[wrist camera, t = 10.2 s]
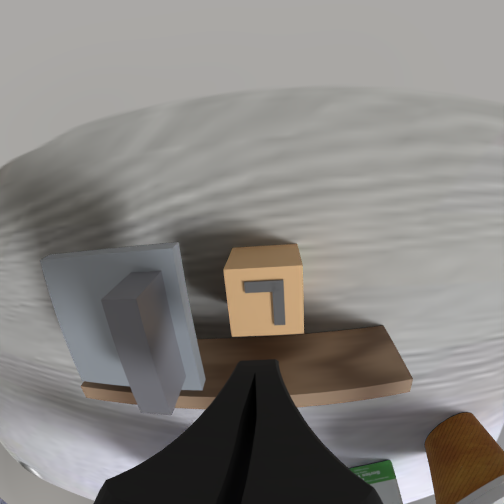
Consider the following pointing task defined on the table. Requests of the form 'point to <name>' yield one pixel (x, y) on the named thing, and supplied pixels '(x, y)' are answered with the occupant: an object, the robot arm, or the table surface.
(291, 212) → the table surface
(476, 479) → the disposable coffee cup
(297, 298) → the letter cube
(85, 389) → the walnut track wall
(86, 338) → the slate cover
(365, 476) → the ink box
